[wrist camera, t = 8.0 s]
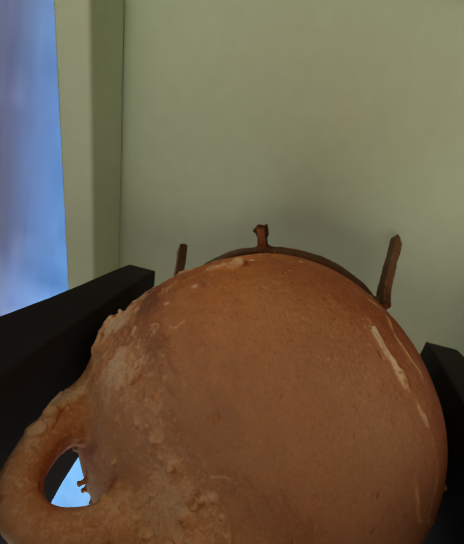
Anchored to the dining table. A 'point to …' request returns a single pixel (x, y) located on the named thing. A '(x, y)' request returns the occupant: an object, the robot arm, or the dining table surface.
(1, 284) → the dining table surface
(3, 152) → the dining table surface
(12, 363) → the robot arm
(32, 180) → the dining table surface
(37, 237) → the dining table surface
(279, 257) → the pot
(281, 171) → the tray
